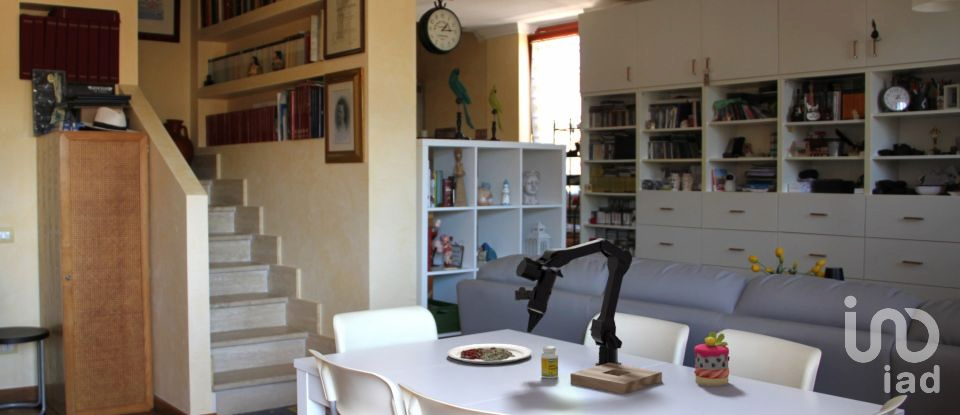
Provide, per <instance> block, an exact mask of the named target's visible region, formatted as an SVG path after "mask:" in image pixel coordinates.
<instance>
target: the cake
mask: <svg viewBox="0 0 960 415" xmlns="http://www.w3.org/2000/svg"><path fill="white" fill-rule="evenodd" d="M725 337H726V336H725V334H724V333H720V334H719V335H717V333H716V332H714V331H711V332H709V334H708V336H706V337H705V338H704V342H705V343H701V344H700V343H699V344H697V345H696V346H694V362H693V364H695V365H694V368H695V370H694V371H693V373H694V374H695V378H694V379H695V383H696V384H697V383H698V384H697V385H700V384H702V385H701V386H704V385H709V386H708V387H721V386H720V385H725V386H727V385H729V375H730V367H729V361H730V356H729V354H730V349H729V347H728V342H727V341H724V339H725ZM726 384H727V385H726Z"/></svg>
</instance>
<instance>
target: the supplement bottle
mask: <svg viewBox="0 0 960 415" xmlns="http://www.w3.org/2000/svg"><path fill="white" fill-rule="evenodd" d="M556 351H557V348H556V346H553V345H546V346H543V347H542V352H543V353H542V354H541V355H540V358H541V359H540V361H541V367H540V368H541V370H540V372H541V377H542V378H543V379H547V380H548V379H549V380H551V379H552V380H553V379H554V380H555V379H557V378H558V377H559V354H557V353H556Z"/></svg>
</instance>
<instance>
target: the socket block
mask: <svg viewBox="0 0 960 415" xmlns="http://www.w3.org/2000/svg"><path fill="white" fill-rule="evenodd" d="M662 382H663V371H659V370H652V369H647V368H643V367H642V368H641V367H635V366H630V365H624V364H621V365H619V364H614V363H606V364H602V365H596V366H592V367H589V368H585V369H581V370H579V371H575V372H574V371H573V372H571V373H570V384H575V385H579V386H582V387H588V388H593V389H599V390H603V391H607V392H614V393H618V394H623V395H625V394H628V393H632V392H635V391H637V390H640V389H644V388H646V387H649V386H653V385H656V384H659V383H662Z"/></svg>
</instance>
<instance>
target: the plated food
mask: <svg viewBox="0 0 960 415" xmlns="http://www.w3.org/2000/svg"><path fill="white" fill-rule="evenodd" d="M532 354H533V351H532V350H531V349H530V348H528V347H525V346H522V345H516V344H509V343H476V344H466V345H460V346H457V347H454V348H453V347H452V348H451V349H449V350H448V351H447V356H448V357H450V358H452V359H455V360H459V361H461V360H462V362H466V363H470V364H479V365H480V364H484V365H486V364H487V365H488V364H489V365H491V364H504V363H511V362H516V361H519V360H522V359H525V358H528V357H530V356H532Z"/></svg>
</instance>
